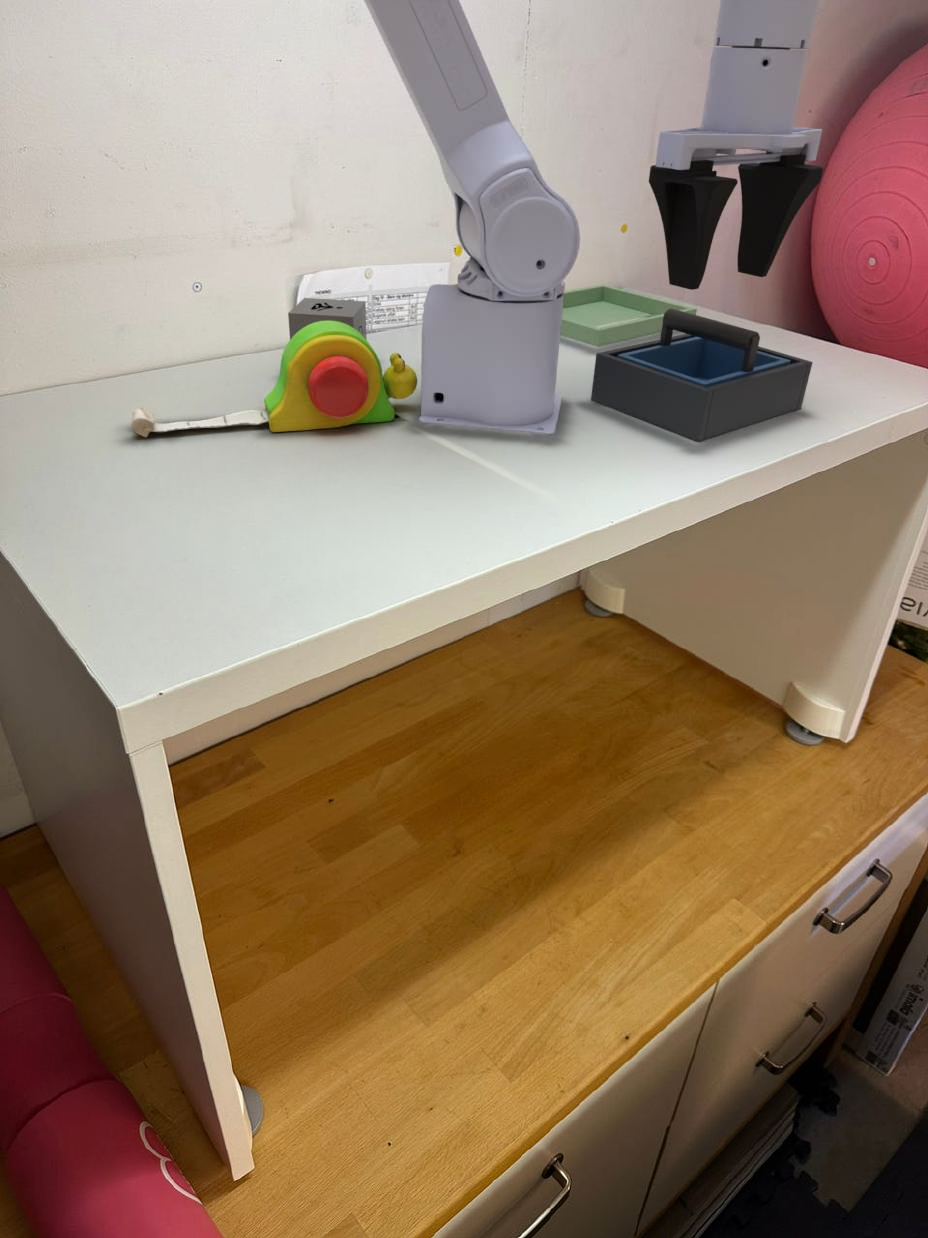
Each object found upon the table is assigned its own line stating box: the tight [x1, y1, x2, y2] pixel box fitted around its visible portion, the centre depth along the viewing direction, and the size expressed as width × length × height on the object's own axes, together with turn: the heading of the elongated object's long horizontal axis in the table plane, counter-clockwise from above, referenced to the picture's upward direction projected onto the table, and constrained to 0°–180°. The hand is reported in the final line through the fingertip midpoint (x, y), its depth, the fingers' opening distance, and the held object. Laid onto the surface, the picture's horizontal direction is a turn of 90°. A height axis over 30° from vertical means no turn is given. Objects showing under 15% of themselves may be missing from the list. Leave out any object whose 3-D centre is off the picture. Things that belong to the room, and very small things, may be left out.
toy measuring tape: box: [131, 321, 418, 438], centre depth 60 cm, size 6×20×7 cm, turn 107°
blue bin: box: [617, 308, 791, 388], centre depth 65 cm, size 10×8×6 cm
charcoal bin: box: [590, 333, 814, 443], centre depth 66 cm, size 12×10×4 cm
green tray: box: [560, 284, 698, 347], centre depth 87 cm, size 14×12×2 cm
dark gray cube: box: [287, 297, 367, 341], centre depth 71 cm, size 5×5×5 cm
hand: (718, 280), depth 62 cm, fingers open, 7 cm apart
